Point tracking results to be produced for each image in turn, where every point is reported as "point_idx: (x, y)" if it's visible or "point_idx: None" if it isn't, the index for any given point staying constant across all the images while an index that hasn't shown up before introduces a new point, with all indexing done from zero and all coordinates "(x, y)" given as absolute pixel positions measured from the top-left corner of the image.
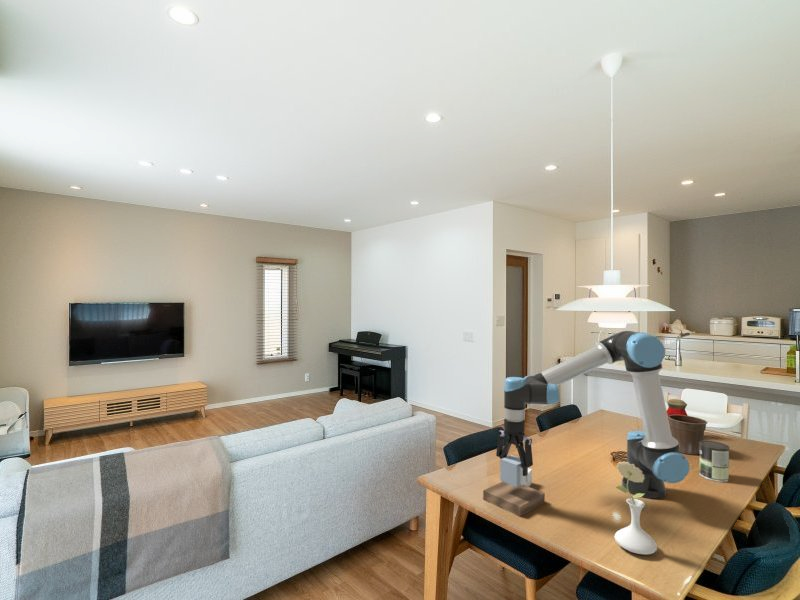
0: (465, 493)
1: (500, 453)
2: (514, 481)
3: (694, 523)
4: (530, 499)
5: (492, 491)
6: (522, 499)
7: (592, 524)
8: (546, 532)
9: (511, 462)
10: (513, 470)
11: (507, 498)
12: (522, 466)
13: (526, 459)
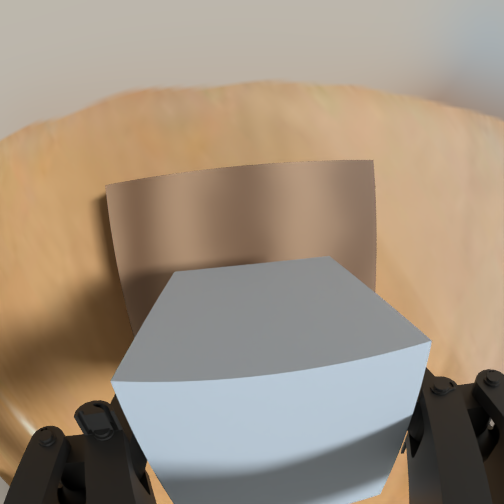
0: (431, 149)
1: (477, 421)
2: (189, 282)
3: (6, 469)
4: (135, 304)
5: (334, 194)
6: (155, 266)
7: (8, 358)
8: (13, 188)
9: (236, 397)
10: (185, 326)
11: (214, 199)
12: (92, 414)
13: (36, 493)
